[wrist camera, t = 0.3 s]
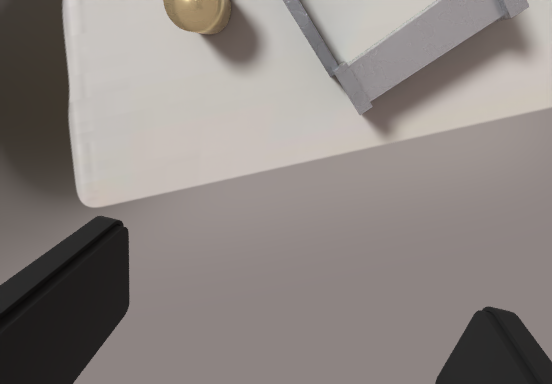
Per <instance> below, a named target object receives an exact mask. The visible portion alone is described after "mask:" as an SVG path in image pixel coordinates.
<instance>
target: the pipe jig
mask: <svg viewBox="0 0 552 384" xmlns="http://www.w3.org/2000/svg"><path fill="white" fill-rule="evenodd" d="M283 1H284V3H285V4H286V6H287V8H288V9H289V11H290V12H291V14H292V16H293V17H294V19H295V21H296V22H297V24H298V25H299V27H300V29H301V30H302V32H303V34H304V35H305V37H306V38H307V40H308V42H309V43H310V45H311V46H312V48H313V50H314V51H315V53H316V55H317V56H318V58H319V59H320V61H321V63H322V64H323V66H324V68H325V69H326V71H327V72H328V74H329V76H330V77H332V76H333V75H336V77H337V79H338V80H339V82H340V84H341V85H342V87H343V88H344V90H345V92H346V93H347V95H348V97H349V98H350V100H351V102H352V103H353V105H354V106H355V108H356V110H357V111H358V113H359V115H361V114H363V113H364V112H366V111H367V110H369V109H370V108H372V107H373V106H372V104H371V103H370V102H371V101H372V100H374V99H375V98H377V97H378V96H380V95H381V94H383V93H385V92H386V91H388V90H389V89H391V88H392V87H394V86H395V85H397V84H398V83H400V82H402V81H403V80H405V79H406V78H408V77H409V76H411V75H412V74H414V73H415V72H417V71H418V70H420V69H422V68H423V67H425V66H426V65H428V64H429V63H431V62H432V61H434V60H435V59H437V58H439V57H440V56H442V55H443V54H445V53H446V52H448V51H449V50H451V49H452V48H454V47H455V46H457V45H459V44H460V43H462V42H463V41H465V40H466V39H468V38H469V37H471V36H472V35H474V34H476V33H477V32H479V31H480V30H482V29H483V28H485V27H486V26H488V25H489V24H491V23H492V22H494V21H499V20H504V19H510V18H512V17H514V16H515V15H517V14H519V13H520V12H522V11H523V10H525V9H526V8H528V7H529V5H528V2H527V0H436V1H435V2H434V3H432V4H431V5H429V6H428V7H426V8H425V9H424V10H422V11H421V12H419V13H418V14H417V15H415V16H414V17H412V18H411V19H410V20H408V21H407V22H405V23H404V24H403V25H401V26H400V27H398V28H397V29H396V30H394V31H393V32H391V33H390V34H388V35H387V36H386V37H384V38H383V39H381V40H380V41H379V42H377V43H376V44H374V45H373V46H372V47H370V48H369V49H367V50H366V51H365V52H363V53H362V54H360V55H359V56H358V57H356V58H355V59H353V60H352V61H350V62H349V63H348V64H347V63H346V62H342V63H341V64H340V65H338V64H337V63H336V61H335V59H334V58H333V56H332V54H331V53H330V51H329V49H328V48H327V46H326V44H325V43H324V41H323V39H322V38H321V36H320V34H319V33H318V31H317V29H316V28H315V26H314V24H313V23H312V21H311V20H310V18H309V16H308V15H307V13H306V11H305V10H304V8H303V6H302V5H301V3H300V1H299V0H283Z"/></svg>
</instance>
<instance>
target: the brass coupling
mask: <svg viewBox="0 0 552 384" xmlns="http://www.w3.org/2000/svg"><path fill="white" fill-rule="evenodd" d="M163 1H164V6H165V9H166V12H167V14H168V16H169V18H170V19H171V20H172V22H173V23H174V24H175V25H177V26H178V27H179V28H181V29H183V30H186V31H191V32H197V33H202V34H215V33H218V32H220V31H221V30H222V29H223V28H224V27H225V26H226V25H227V23H228V21H229V19H230V14H231V4H230V0H163Z"/></svg>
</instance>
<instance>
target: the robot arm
mask: <svg viewBox="0 0 552 384" xmlns="http://www.w3.org/2000/svg"><path fill="white" fill-rule="evenodd" d="M128 237H129V236H128V229H127V228H126V227H124V226H123V223H122V221H120V220H116V219H112V218H108V217H104V216H97V217H95V218H94V219H93V220H91V221H90V222H88V223H87V224H85V225H84V226H83V227H81V228H80V229H79V230H77V231H76V232H74V233H73V234H72V235H70V236H69V237H67V238H66V239H65V240H63V241H62V242H60V243H59V244H58V245H56V246H55V247H53V248H52V249H51V250H49V251H48V252H46V253H45V254H44V255H42V256H41V257H39V258H38V259H37V260H35V261H34V262H32V263H31V264H30V265H28V266H27V267H25V268H24V269H23V270H21V271H20V272H18V273H17V274H16V275H14V276H13V277H11V278H10V279H9V280H7V281H6V282H4V283H3V284H2V285H0V384H73V383H74V381H75V380H76V379H77V377H78V376H79V375H80V373H81V372H82V371H83V369H84V368H85V367H86V365H87V364H88V363H89V362H90V360H91V359H92V357H93V356H94V355H95V354H96V352H97V351H98V350H99V348H100V347H101V346H102V345H103V343H104V342H105V341H106V339H107V338H108V337H109V335H110V334H111V333H112V331H113V330H114V329H115V327H116V326H117V325H118V323H119V322H120V321H121V320H122V318H123V317H124V315H125V314H126V312H127V309H128V307H129V241H128V240H129V238H128ZM436 384H552V362H551V360H550V359H549V358H548V356H547V355H546V354H545V352H544V351H543V350H542V348H541V347H540V346H539V344H538V343H537V342H536V340H535V339H534V337H533V336H532V335H531V333H530V332H529V331H528V329H527V328H526V327H525V325H524V324H523V323H522V321H521V320H520V319H519V317H518V316H517V315H516V314H515V313H513V312H510V311H506V310H502V309H498V308H493V307H485V308H484V309H483V310H482V311H477V312H476V313H475V314H474V316H473V317H472V319H471V321H470V322H469V324H468V326H467V328H466V329H465V331H464V333H463V335H462V336H461V338H460V340H459V342H458V343H457V345H456V346H455V348H454V350H453V352H452V353H451V355H450V357H449V358H448V360H447V362H446V363H445V365H444V367H443V369H442V370H441V372H440V374H439V376H438V377H437V380H436Z"/></svg>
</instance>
